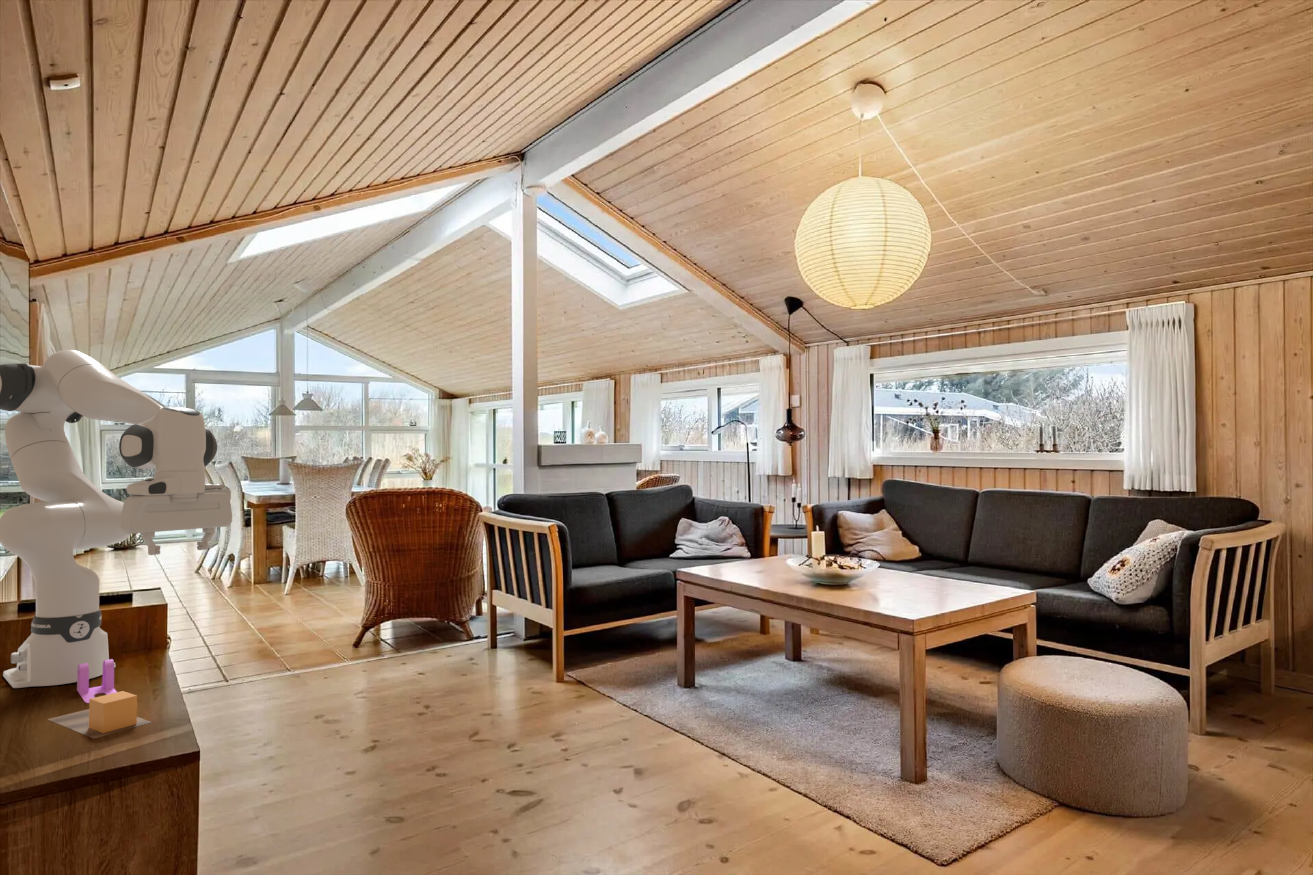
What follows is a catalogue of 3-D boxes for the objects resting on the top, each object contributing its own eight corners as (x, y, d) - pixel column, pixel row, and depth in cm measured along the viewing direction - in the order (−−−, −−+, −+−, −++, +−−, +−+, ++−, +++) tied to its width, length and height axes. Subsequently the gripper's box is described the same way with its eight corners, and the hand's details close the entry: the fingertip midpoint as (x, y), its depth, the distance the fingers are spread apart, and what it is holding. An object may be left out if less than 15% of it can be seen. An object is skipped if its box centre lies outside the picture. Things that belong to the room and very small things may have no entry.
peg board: (46, 726, 135) (47, 699, 135) (104, 711, 143) (104, 686, 143) (93, 745, 126) (94, 717, 126) (152, 729, 133) (152, 702, 134)
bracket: (76, 697, 152) (77, 662, 152) (110, 691, 156) (111, 657, 156) (87, 712, 143) (87, 675, 143) (122, 705, 147) (123, 669, 147)
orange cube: (88, 727, 131) (89, 698, 131) (122, 718, 135) (122, 691, 135) (103, 733, 128) (103, 703, 128) (136, 724, 133) (137, 695, 133)
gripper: (222, 483, 165) (221, 546, 164) (117, 486, 147) (116, 556, 147) (238, 483, 161) (237, 548, 161) (133, 486, 144) (132, 558, 143)
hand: (179, 552), depth 154 cm, fingers open, 8 cm apart
